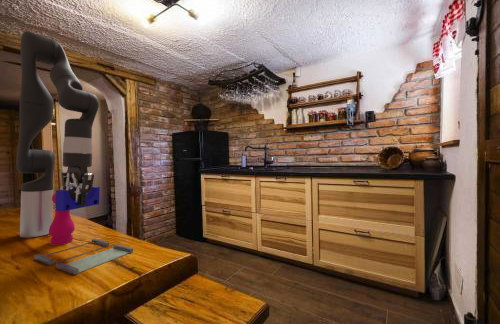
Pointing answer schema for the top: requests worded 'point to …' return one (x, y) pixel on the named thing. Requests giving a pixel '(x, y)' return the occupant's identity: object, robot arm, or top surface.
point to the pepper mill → (61, 226)
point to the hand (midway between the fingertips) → (76, 204)
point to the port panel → (87, 258)
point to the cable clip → (67, 203)
